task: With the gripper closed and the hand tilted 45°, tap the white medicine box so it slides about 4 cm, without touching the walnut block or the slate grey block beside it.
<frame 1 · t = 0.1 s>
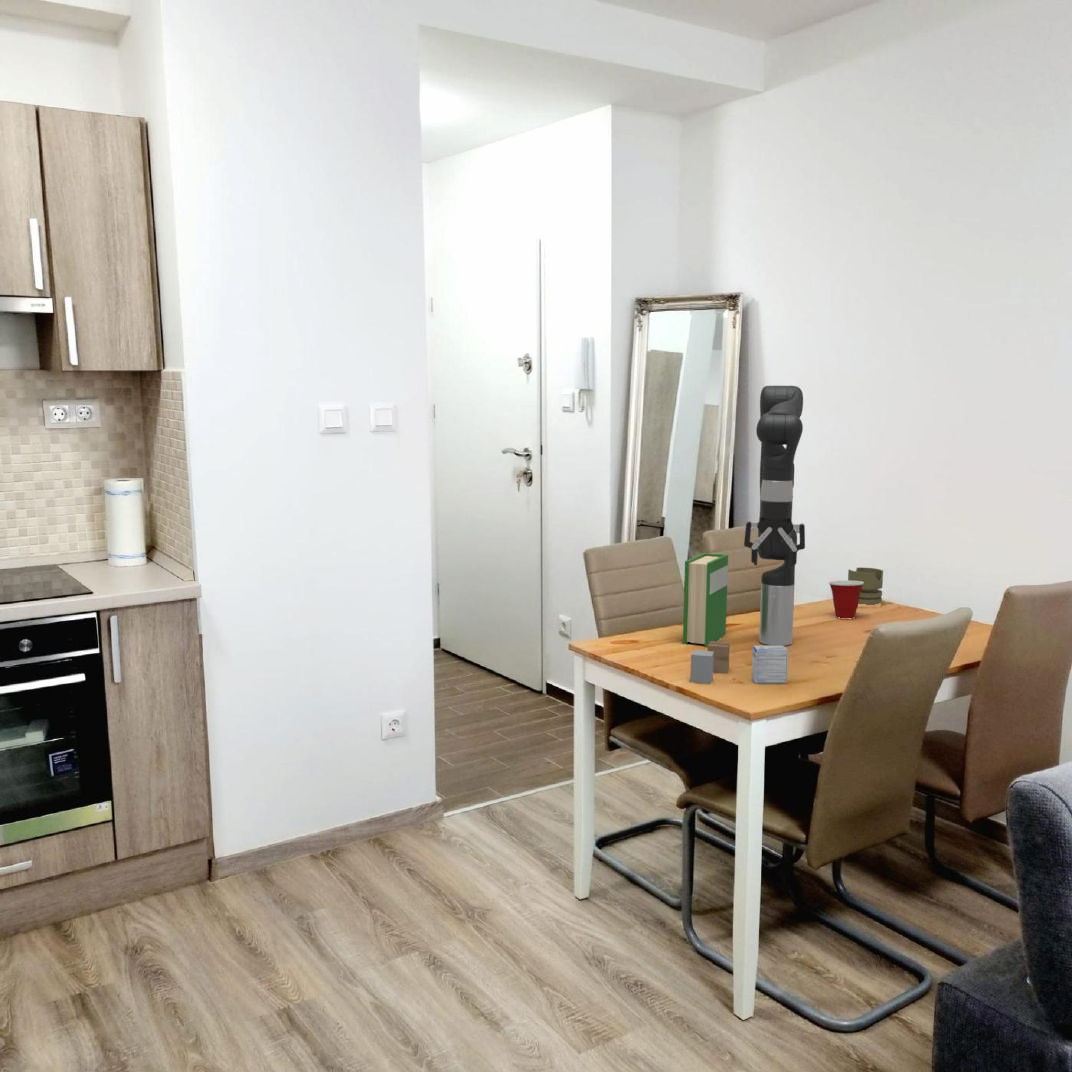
hand: (773, 565, 248), 29 cm above the table, tool pointing down, fingers open, 8 cm apart
slate grey block: (701, 680, 254), on the table
walnut block: (718, 670, 264), on the table
piston: (864, 605, 352), on the table
medicine box: (769, 682, 254), on the table
plastic cup: (844, 618, 330), on the table
hardback book: (704, 640, 298), on the table
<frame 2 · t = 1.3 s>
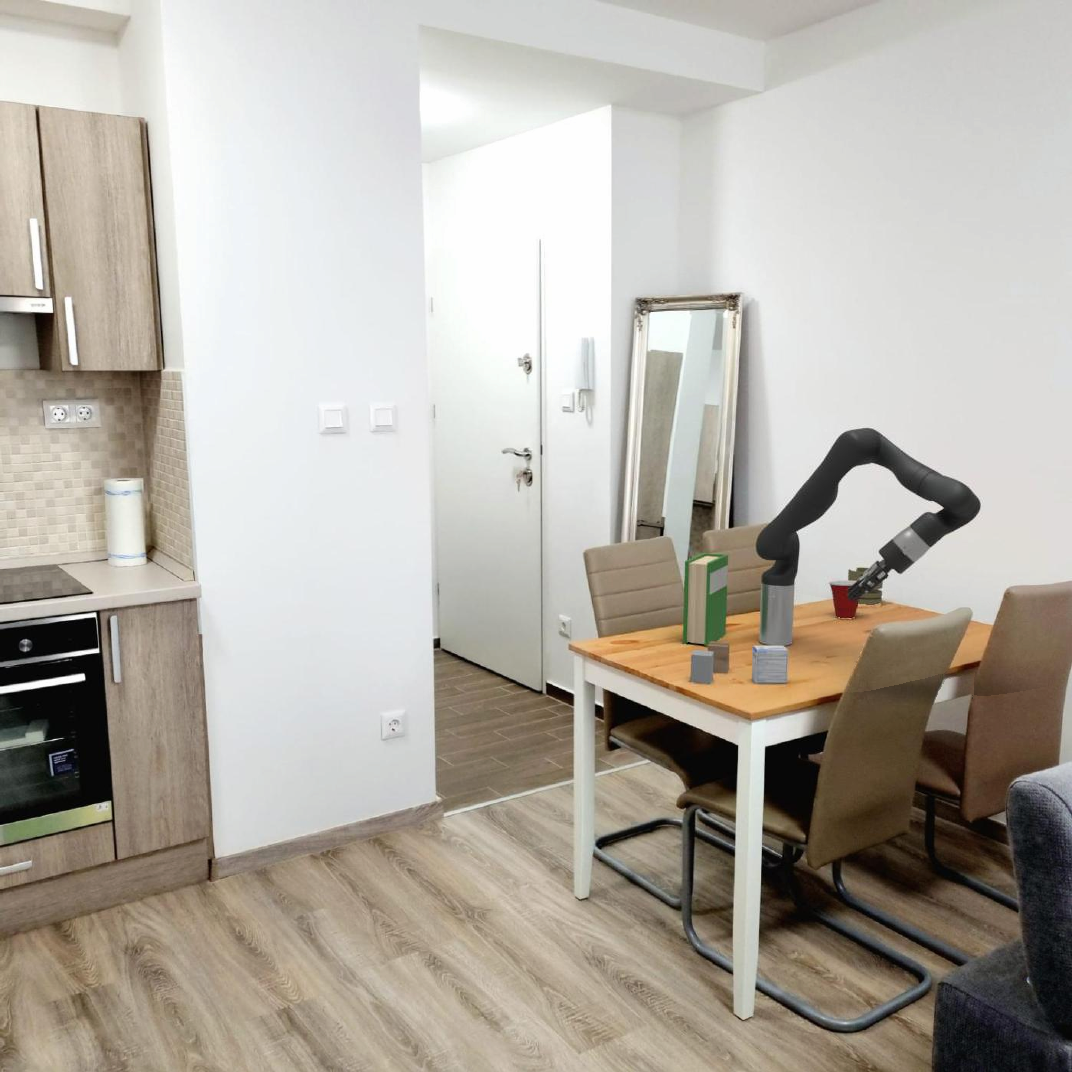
hand: (849, 596, 246), 22 cm above the table, tool tilted 45°, fingers open, 6 cm apart
nothing on the table moved.
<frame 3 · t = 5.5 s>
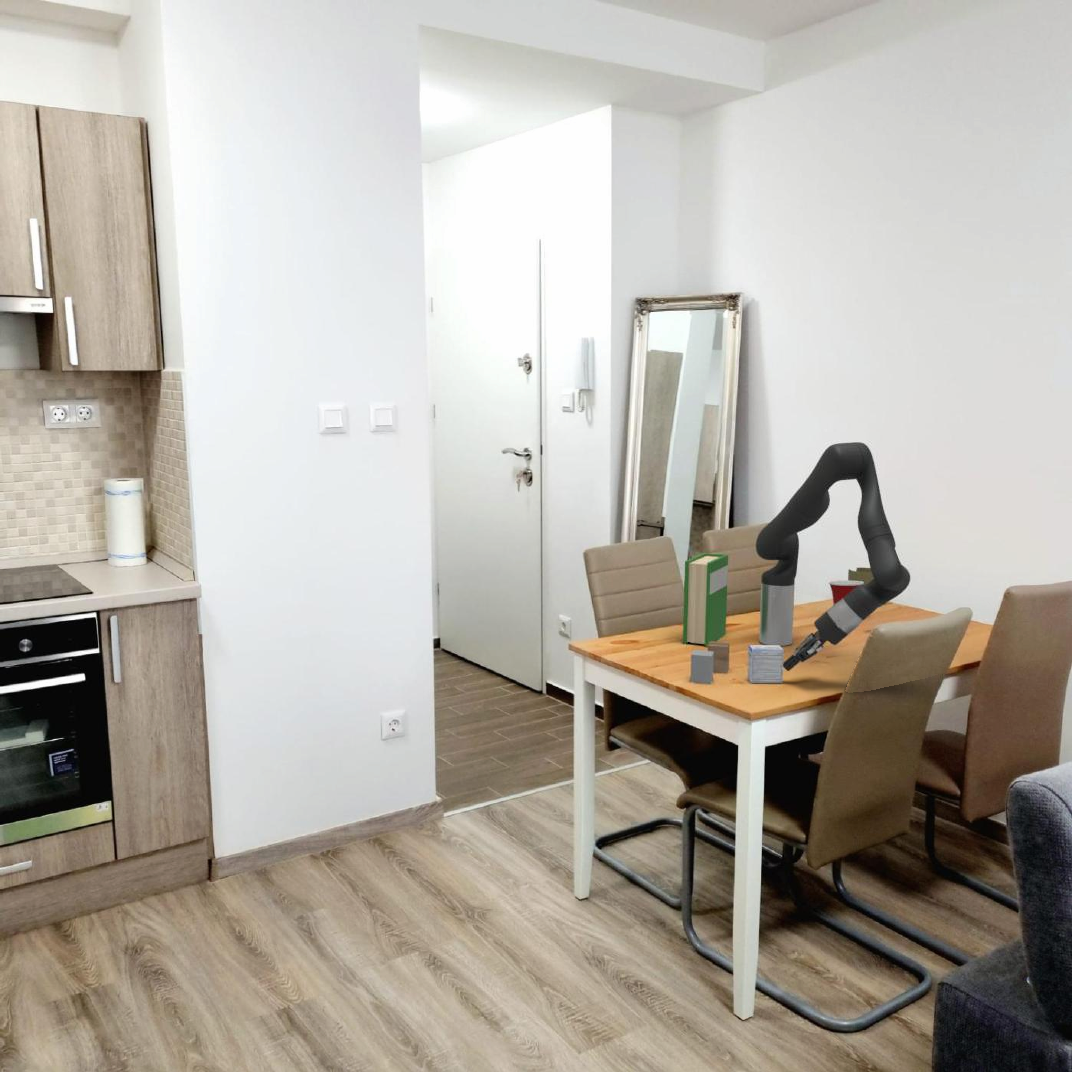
hand: (785, 667, 252), 4 cm above the table, tool tilted 45°, fingers closed
medicine box: (764, 681, 254), on the table, touching gripper
everything else where it was.
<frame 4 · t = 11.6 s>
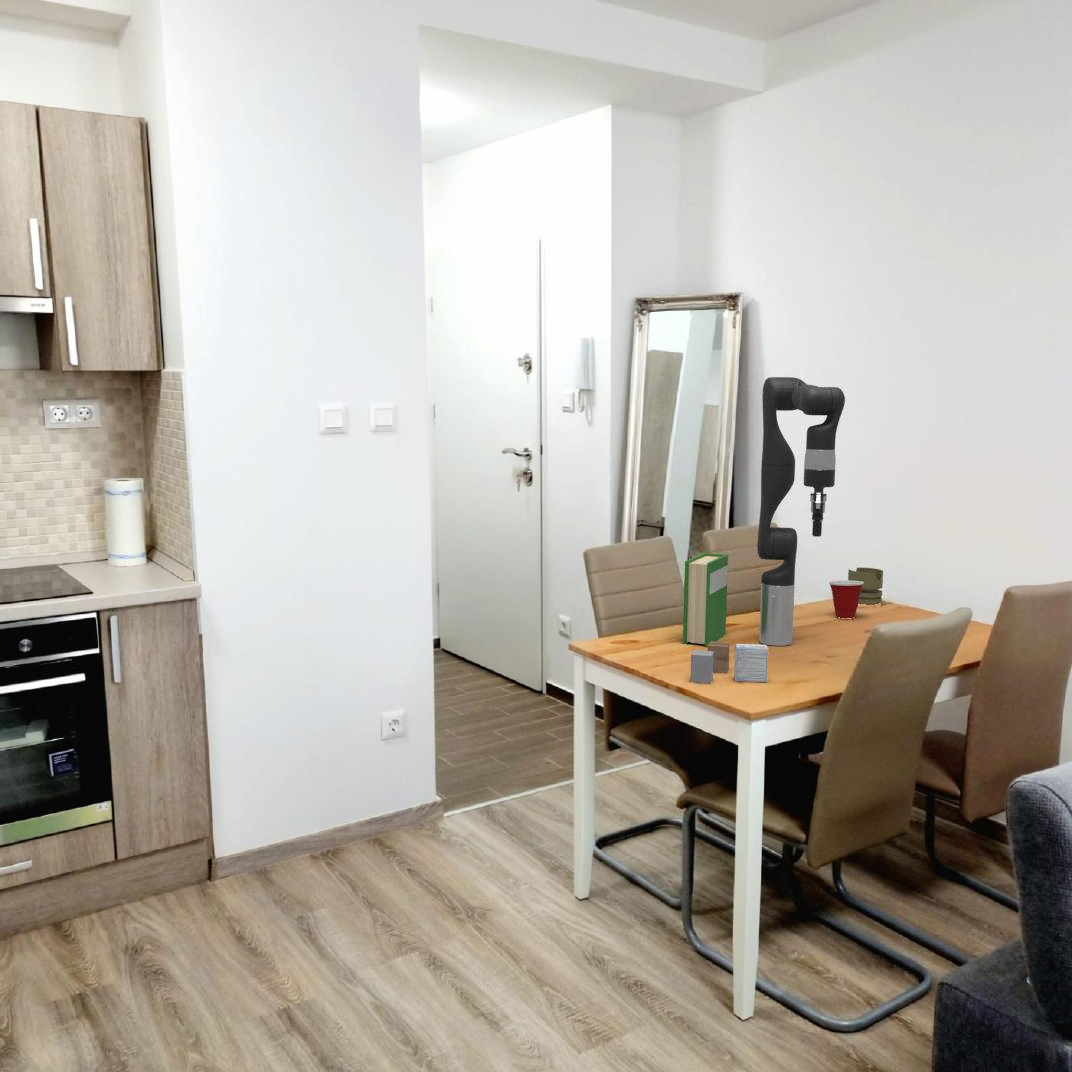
hand: (816, 536, 259), 35 cm above the table, tool pointing down, fingers closed
medicine box: (750, 680, 255), on the table
everything else where it was.
at the end: medicine box 0.4 cm from the target spot, on the table; medicine box tilted 0°; slate grey block moved 0.1 cm from its start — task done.
